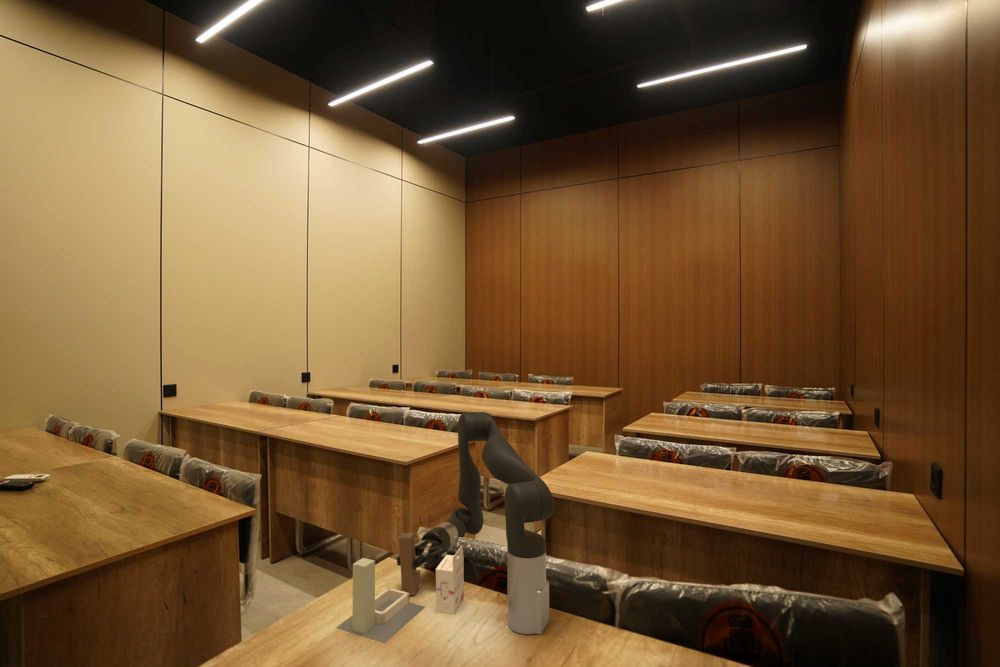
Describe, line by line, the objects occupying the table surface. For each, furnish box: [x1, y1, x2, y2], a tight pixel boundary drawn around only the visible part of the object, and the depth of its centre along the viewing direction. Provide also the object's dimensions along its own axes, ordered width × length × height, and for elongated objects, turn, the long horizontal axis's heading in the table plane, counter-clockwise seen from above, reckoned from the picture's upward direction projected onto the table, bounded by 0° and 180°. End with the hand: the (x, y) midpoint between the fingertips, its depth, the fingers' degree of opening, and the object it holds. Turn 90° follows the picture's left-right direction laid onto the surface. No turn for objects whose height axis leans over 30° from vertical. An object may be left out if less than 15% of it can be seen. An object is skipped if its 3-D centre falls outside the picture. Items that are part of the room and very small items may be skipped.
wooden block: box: [398, 532, 421, 596], centre depth 127 cm, size 7×3×15 cm, turn 175°
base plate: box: [335, 587, 426, 644], centre depth 114 cm, size 14×16×4 cm
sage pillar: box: [352, 557, 376, 634], centre depth 110 cm, size 4×4×15 cm
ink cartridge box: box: [435, 544, 465, 615], centre depth 120 cm, size 9×5×15 cm, turn 168°
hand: (405, 563), depth 125 cm, fingers closed on wooden block, 4 cm apart
